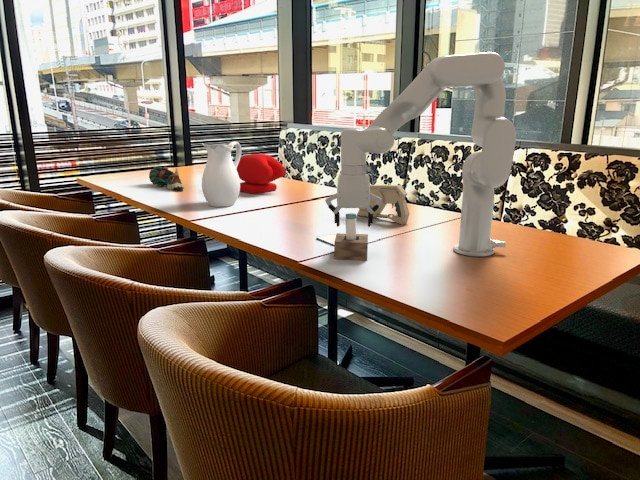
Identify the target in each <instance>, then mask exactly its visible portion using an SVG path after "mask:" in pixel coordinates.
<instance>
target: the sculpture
mask: <svg viewBox="0 0 640 480" xmlns="http://www.w3.org/2000/svg"><path fill="white" fill-rule="evenodd" d="M179 175H180V174H179V170H178V168H177V167H175V171H174V172H173V171H171V170H170V169H169V167H167V166H163V167H162V166H155V167H152V169H150V171H149V175H148V176H149V177H148V178H149V181H150V183H152V185H156V186H158V187H165V186H166V187H167V189H168V190H172V189H173V190H174V191H177V192H179V193H182V192H183V191H184V188H185V187H184V186H183V184H182V181H181V178H180V176H179Z"/></svg>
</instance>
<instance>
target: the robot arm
mask: <svg viewBox="0 0 640 480" xmlns="http://www.w3.org/2000/svg"><path fill="white" fill-rule="evenodd" d="M505 70H506V64H505V60H504V59H503V57H502V56H501V55H500V54H499V53H497V52H494V51H493V52H492V51H487V52H479V53H478V52H476V53H468V54H467V53H466V54H464V53H463V54H448V55H443V56H438V57H435V58H433V59H432V60H431V61H429V63H427V65H425V67H424V68H423V69H422V71H420V72H419V74H418V75H417V76H416V77H415V78H414V79H413V81H411V82H410V83H409V85H407V86H406V88H405V89H404V90H403V91H402V92H401V93H400V94H399V95H398V96H397V97H395V99H394V100H393V101H392V102H391V103H390V104H389V105H388V106H386V107H385V108H384V109H383V110H382V111H381V112H380V113H379V114H378V115H377V116H376V117H375V119H374V120H373V121H372V122H371V123H370V124H369V125H368V126H367V127H366V129H364V128H360V127H358V128H357V127H350V128H344V129H342V131H341V133H340V174H338V178H337V186H336V188H337V189H336V193H334V194H332V195H330V196H328V197H327V198H325V199H324V201H325V204H326V205H327V206H328V208H329V210H330V211H331V212H332V213H333V214H334V224H336V227H337V228H338V227H340V223H341V222H340V221H341V220H340V218H341V216H340V210H341V209H359V208H366V209H367V210H368V211H369V213H368V217H367V227H369V228H370V227H371V224H373V223H374V219H373V218H374V217H373V213H374V212H375V211H376V210H377V209H378V208H379V206H380V204H381V202H382V199H381V198H380V197H378V196H376V195H374V194H372V193H370V185H371V181H370V175H369V174H368V172H371V171H372V167H371V166H369V165H367V153H369V154H381V155H382V154H385V153H388V152H389V151H391V150H392V148H394V144H395V137H394V134H395V133H396V132H397V131H398V130H399V129H400V128H401V127H402V126H404V125H405V124H406V123H408V122H409V121H411V120H414V119H417V118H418V117H420V116H421V115H422V114H423V113H425V111H427V109H428V108H429V107H430V106H431V105H432V104H433V103H434V101H436V99H437V98H438V97H439V96H440V95H441V94H442V93H443V92H444V91H445V90H446V89H447V88H455V87H456V88H457V87H460V88H461V87H470V86H471V87H472V89H473V91H474V94H475V105H474V113H473V121H472V124H471V125H472V126H471V134H470V135H471V137H470V138H471V140H472V142H473V144H475V145H476V146H478V147H481V151H475V152H472V153H470V154H468V156H467V157H466V158H465V160H464V161H463V164H462V167H461V168H462V169H461V173H462V175H461V176H462V177H461V178H462V199H461V212H460V225H459V235H458V236H459V237H458V243H456V244H454V245H453V248H452V249H453V251H454V253H457V254H458V255H459V254H460V255H462V256H468V257H489V256H492V255H494V253H495V248H500V249H501V248H503V249H505V248H506V245H507V244H506V241H500V240H498V239H492V237H491V235H492V227H493V226H492V223H493V216H494V205H495V189H496V188H499V187H501V186H504V184H505V183H506V182H507V181H508V179H509V177H510V174H511V171H512V164H513V159H514V152H515V147H516V143H517V132H516V128H515V125H514V124H513V122H512V121H511V120H509V118H506V117H505V112H506V111H505V110H506V101H507V93H506V92H507V91H506V87H505V83H504V81H503V80H502V77H503V75H504V73H505ZM370 199H373V200H375V201H377V203H376V204H375V205H374V206H373V207H371V206H370ZM334 200H336V204H337V205H336V206H335V205H334V204H333V203H332V202H333V201H334Z"/></svg>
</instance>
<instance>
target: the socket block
mask: <svg viewBox="0 0 640 480" xmlns="http://www.w3.org/2000/svg"><path fill="white" fill-rule="evenodd" d="M335 235H336V238H335V245H334V246H333V247H334V253H333V254H334V255H333V256H334V260H344V261H345V260H349V261H368V248H369V245H368V243H369V242H368V241H369V238H368V237H369V234H368V233H367V234H366V233H356V240H346V233H336V234H335Z"/></svg>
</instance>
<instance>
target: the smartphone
mask: <svg viewBox="0 0 640 480" xmlns="http://www.w3.org/2000/svg"><path fill="white" fill-rule="evenodd" d="M335 238H336V234H334V233H332V234H327V235H321V236H317V237H316V240H318V241H320V242H322V243H325V244H328V245H330V246H333V247H334V245H335Z"/></svg>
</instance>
